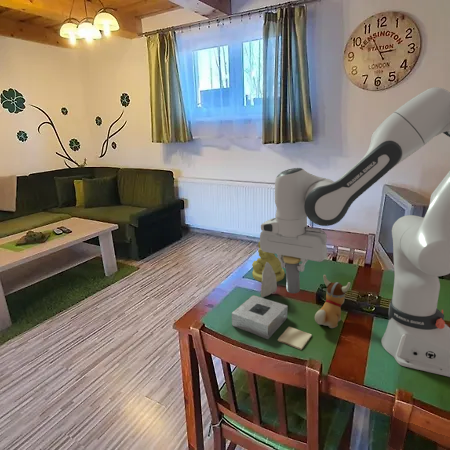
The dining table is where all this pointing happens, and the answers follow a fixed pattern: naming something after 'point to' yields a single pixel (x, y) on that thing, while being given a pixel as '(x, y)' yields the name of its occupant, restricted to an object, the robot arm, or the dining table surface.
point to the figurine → (260, 265)
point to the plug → (292, 274)
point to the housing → (259, 316)
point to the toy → (332, 304)
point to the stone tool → (268, 281)
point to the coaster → (294, 338)
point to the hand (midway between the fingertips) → (292, 268)
